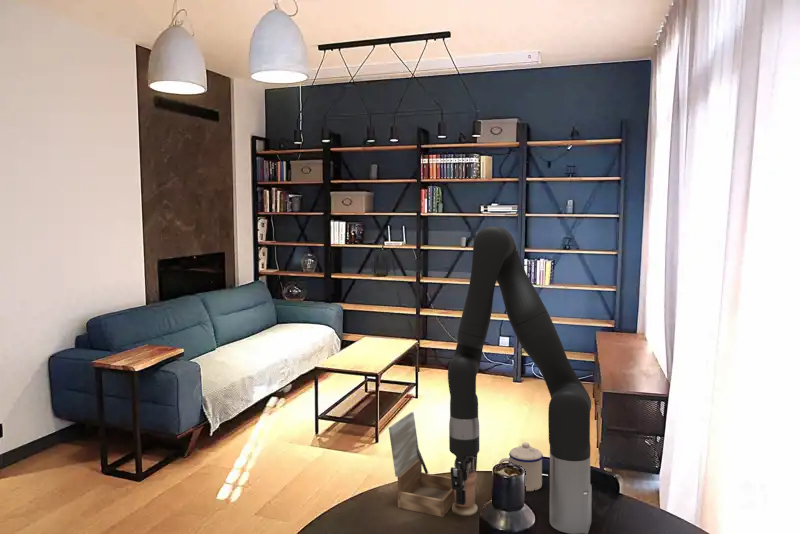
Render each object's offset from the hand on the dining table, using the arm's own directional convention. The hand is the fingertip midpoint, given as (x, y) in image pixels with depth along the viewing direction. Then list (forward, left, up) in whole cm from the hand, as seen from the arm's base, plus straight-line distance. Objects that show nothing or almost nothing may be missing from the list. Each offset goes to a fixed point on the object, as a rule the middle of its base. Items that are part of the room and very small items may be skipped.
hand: (464, 498), depth 147 cm
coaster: (0, 0, -3) cm, 3 cm away
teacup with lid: (-9, -20, -3) cm, 22 cm away
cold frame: (+11, -1, -3) cm, 11 cm away
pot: (0, 0, -1) cm, 1 cm away
